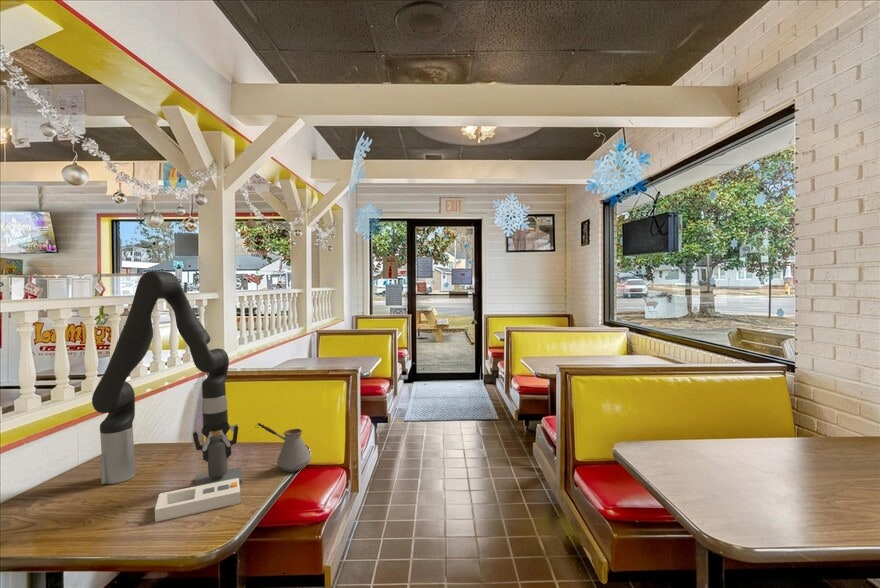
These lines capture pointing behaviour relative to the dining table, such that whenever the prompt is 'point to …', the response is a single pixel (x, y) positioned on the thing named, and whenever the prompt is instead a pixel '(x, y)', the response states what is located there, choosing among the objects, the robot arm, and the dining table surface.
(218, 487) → the power strip
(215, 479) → the mat
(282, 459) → the coffee pot
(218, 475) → the bottle
